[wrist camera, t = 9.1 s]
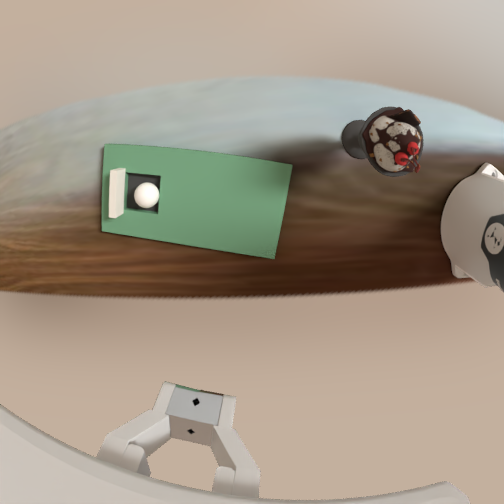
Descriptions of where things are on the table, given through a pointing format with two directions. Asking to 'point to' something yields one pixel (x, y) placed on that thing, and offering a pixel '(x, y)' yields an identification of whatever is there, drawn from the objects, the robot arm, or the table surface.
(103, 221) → the green
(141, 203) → the ball
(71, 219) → the table surface
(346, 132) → the sundae
